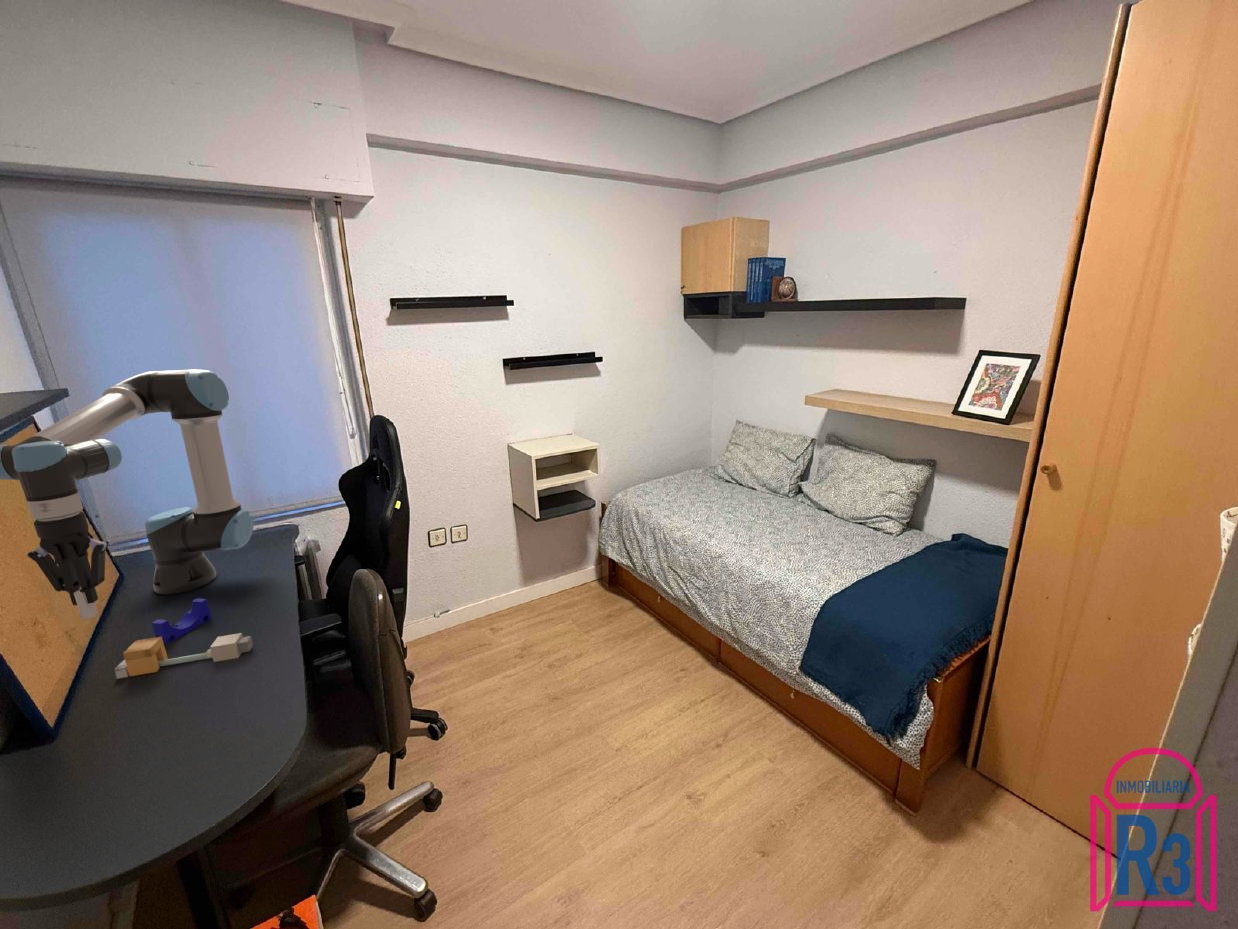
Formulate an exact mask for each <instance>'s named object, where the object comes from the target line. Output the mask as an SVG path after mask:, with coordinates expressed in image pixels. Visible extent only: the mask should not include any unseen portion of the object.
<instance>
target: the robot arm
mask: <svg viewBox="0 0 1238 929" xmlns="http://www.w3.org/2000/svg"><path fill="white" fill-rule="evenodd" d="M228 391H229V390H228V387H227V385H226V384H225V383H224V381H223V379H222V378H221V377H220V376H219V375H218V374H216V373H215V372H214V371H211V370H206V369H193V368H192V369H182V370H180V369H179V370H177V369H176V370H153V371H151V370H150V371H146V372H143V373H140V374H137V375H134V376H132V377H129V378H127V379H125V380H122V381H120V382H118V383H116V384H114V385H113V386H111V387H108V388H107V389H106V390H104V392H103V394H102V397H100V398H98V399H96V400H94V401H93V402H91V403H88V404H87V405H85V406H84V407H81V408H80V409H78V410H76V411H74V412H73V413H71V414H69V415H67V416H66V417H64V418H61V420H58V421H57V422H55V423H53V424H51V425H49V426H47V427H46V428H44V429H42V430H40V431H39V432H37V433H34V434H33V435H32V436H29V437H28V438H26V439H24V440H22V441H20V442H18V443H17V444H13V445H12V444H3V445H1V446H0V480H2V481H3V480H7V481H9V480H10V481H11V480H12V481H13V480H14V481H19V483H20V485H21V488H22V492H23V494H24V496H25V499H26V504H27V507H28V510H29V512H30V516H31V518H32V519H33V520H34V522H33V526H34V529H35V533H36V534H37V537H38V538H39V539H40V540H39V546H38V547H37V548H35V549H34V550H32V551H29V552H28V553H27V557H28V558H30V560H32V561H33V562H35V563H36V564H37V566H38V567H39V568H40V570H41V572H42V573H43V574H44V576H45V577H46V578H47V581H49V583H50V584H51V586H52V588H54V590H55V591H56V592H67V593H68V594H69V598H70V600H71V604H72V605H73V606H77V609H78V612H79V614H80V618H81V620H82V621H86V620H91V619H93V617H95V616H96V615H98V614H99V611H98V607H97V605H96V602H97V601H98V600H99V596H98V593H97V590H96V587H98V586H99V585H100V584H102V583H104V581H105V576H106V574H105V572H106V550H107V548H108V547H109V545H110V542H109V541H108V540H103V541H101V540H99V539H98V540H97V539H95V538H94V536H93V535H92V534H91V532H90V531H89V524H88V521H87V516H86V514H85V512H83V511H82V510H83V509H84V506H83V504H82V500H81V497H80V494H79V490H78V486H77V484H76V482H77V481H81V480H83V479H87V478H90V477H93V476H97V475H100V474H105V473H107V472H109V471H111V470H113V469H114V470H115V469H116V468H117V467H118V466H120V464H122V458H123V456H122V452H121V449H120V447H119V446H118V445H117V444H115V443H114V442H113V441H111V440H108V439H105V438H101V437H103V436H105V435H106V434H108V433H110V432H111V431H112V430H114V429H116V428H118V427H119V426H120V425H122V424H123V423H125V422H127V421H129V420H130V421H131V420H137V419H140V418H141V417H143V416H145V415H148V414H154V413H170V416H171V420H172V421H174V422H176V423H177V424H179V426H180V430H181V433H182V439H183V444H184V447H185V452H186V457H187V460H188V461H187V463H188V466H189V467H188V468H189V470H190V474H191V480H192V484H193V489H194V493H195V494H194V495H195V498H196V502H197V505H196V506H195V507H194V509H193V508H192V507H190V506H185V507H179V508H178V507H177V508H175V509H174V508H173V509H169V510H166V511H164V512H160V513H157V514H155V515H152V516H151V517H149V518H147V519H146V521H145V522H144V527H145V528H144V529H145V535H146V538H147V540H148V544H149V548H150V552H151V554H152V556H153V557H152V558H153V560H154V564H155V568H154V575H153V581H152V586H153V590H154V593H156V594H159V595H173V594H174V595H175V594H180V593H186V592H189V591H192V590H195V589H198V588H200V587H204V586H205V585H207V584H209V583H211V582H212V581H214V580H215V579H216V577H217V571H216V568H215V566H214V565H213V564H212V563H211V562H210V560H209V559H208V557H207V556H206V554H205V552H210V551H229V550H235V549H236V550H237V549H240V548H242V547H244V546H246V545H247V543H248V542H249V541H250V539H251V537H252V535H253V531H254V517H253V514H252V513H251V512H250V511H249V510H245V509H242V506H241V502H240V501H238V500H236V499H235V498H234V496H233V492H232V486H231V481H230V476H229V472H228V467H227V466H228V465H227V462H226V461H227V460H226V456H225V453H224V447H223V440H222V438H221V432H220V428H219V422H218V421H219V420H220V419H221V417H222V416H223V410H224V409H226V408H227V407H228V405H229V400H230V396H229V392H228ZM89 548H90V551H91V556H90V559H91V560H90V562H89V551H88V550H89Z"/></svg>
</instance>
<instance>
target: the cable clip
mask: <svg viewBox="0 0 1238 929" xmlns="http://www.w3.org/2000/svg"><path fill="white" fill-rule="evenodd" d="M191 604H192V605H191V606H192V607H191V609H190V610H188V611H186V612H185V614H184V615H183V617H182V618H181V620H179V621H178V622H177V623H175V624H174V627H173V626H172V625H171V624H170V623H169V620H168V619H167V620H166V619H160V618H159V619H158V618H157V619H156V620H153V621H152V622H151V625H152V629H153V631H154V637H161V636H162V640H163V643H164V645H169V644H170V643H171V642H173V641H175V640H178V639H179V638H180V637H182V636H184V635H186V634H187V633H189V632H190V631H192V630H194V629H195V628H198V627H199V626H201V625H203V624H204V623H206V622H208V621H210V620H211V619H212V615H211V611H210V608H209V607H210V606H209V604H208V600H207V598H200V597H199V598H197V597H196V598H195V599H193V600H192V601H191Z"/></svg>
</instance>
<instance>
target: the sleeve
mask: <svg viewBox="0 0 1238 929" xmlns="http://www.w3.org/2000/svg"><path fill="white" fill-rule="evenodd" d="M167 654H168V653H167V651H166V648H165V644H164V643H163V640H162V636H161V637H156V636H154V637H150V638H149V637H148V638H143V639H137V640H135V641H133V643H131V645H130V646H129V647H128V648H127V649H126V650H124V651H123V652H122V655H123V658H124V659H125V662H126V665H127V668H128V671H129V674H130V675H129V677H135V676H140V675H145V674H151V673H157V672H158V671H159V670H160V667H159V664H158V661H160V660H166V659H169V658H168V655H167Z"/></svg>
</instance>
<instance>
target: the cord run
mask: <svg viewBox="0 0 1238 929" xmlns="http://www.w3.org/2000/svg"><path fill="white" fill-rule="evenodd" d="M253 647H254V644H253V640H252V635H247V636H243V633H242V632H239V633H234V634H228V635H227V634H226V635H221V636H217V637H216V639H215V640H214V641H213V643H211V645H210V647H209V648H208V649H207V650H206V652H203V653H196V654H190V655H185V656H178V657H172V658H168V659H166V660H160V661H158V664H159V668H161V667H166V666H172V665H177V664H178V665H179V664H183V663H184V664H185V663H189V662H196V661H202V660H206V659H207V660H209V659H212V660H213V663H216V662H221V661H227V660H228V661H229V660H233V659H238V658H239V657H240V656H241V654H242V653H246V652H250V651H251V649H252V648H253ZM114 672H115V676H116V679H123V678H124V679H125V678H128V677H130V674H129V671H128V668H127V665H126V662H125V658H124V659H123V660H122V661H121V662H120V663H119V664H118V665H117V666H116V667H115V668H114Z"/></svg>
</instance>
